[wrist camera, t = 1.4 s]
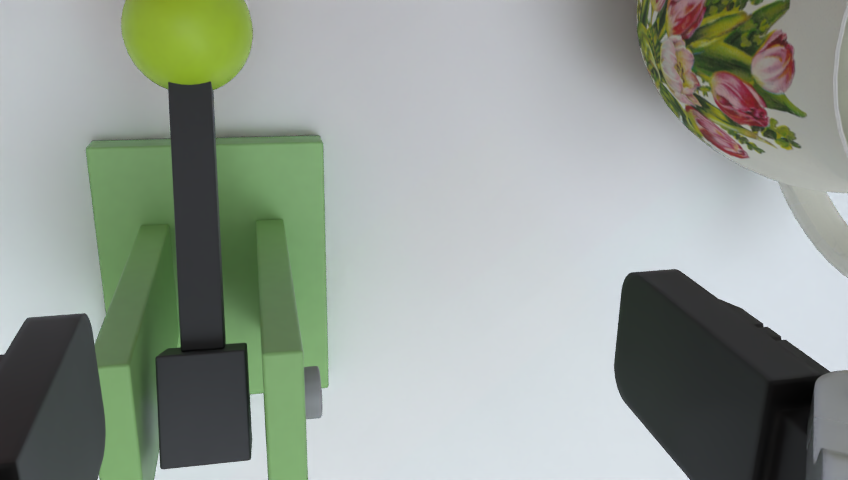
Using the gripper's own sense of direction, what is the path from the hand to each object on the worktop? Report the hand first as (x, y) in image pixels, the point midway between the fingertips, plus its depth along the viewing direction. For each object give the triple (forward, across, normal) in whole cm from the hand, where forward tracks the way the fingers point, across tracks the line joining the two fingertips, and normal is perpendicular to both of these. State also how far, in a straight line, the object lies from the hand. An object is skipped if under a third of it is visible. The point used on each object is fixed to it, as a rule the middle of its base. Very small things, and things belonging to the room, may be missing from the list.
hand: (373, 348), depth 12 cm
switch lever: (+12, +3, +1) cm, 13 cm away
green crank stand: (+19, +3, +6) cm, 20 cm away
